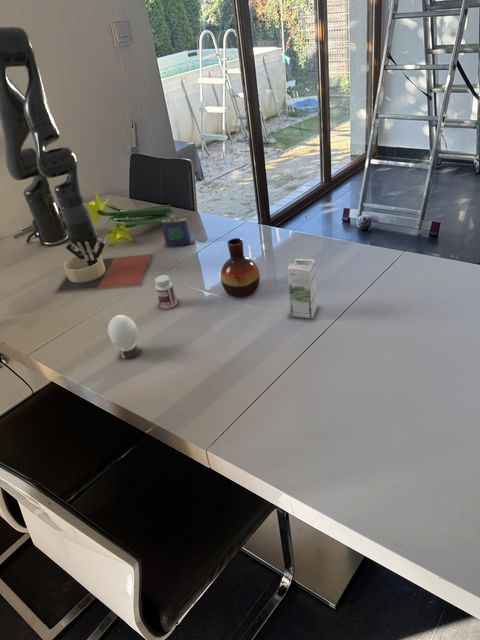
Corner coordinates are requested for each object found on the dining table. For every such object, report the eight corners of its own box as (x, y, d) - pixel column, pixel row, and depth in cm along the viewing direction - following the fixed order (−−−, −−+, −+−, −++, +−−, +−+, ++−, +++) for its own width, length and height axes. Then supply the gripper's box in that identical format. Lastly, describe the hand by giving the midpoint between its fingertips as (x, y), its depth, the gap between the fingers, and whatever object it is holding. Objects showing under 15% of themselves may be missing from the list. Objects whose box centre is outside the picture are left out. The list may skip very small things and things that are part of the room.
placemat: (57, 292, 148) (57, 291, 148) (78, 262, 164) (77, 261, 164) (139, 285, 147) (138, 283, 146) (151, 255, 162) (151, 254, 162)
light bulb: (119, 365, 115) (105, 328, 108) (114, 350, 120) (101, 314, 113) (146, 356, 117) (134, 319, 110) (140, 342, 122) (129, 306, 115)
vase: (267, 283, 139) (262, 234, 130) (251, 303, 131) (244, 252, 122) (234, 279, 143) (226, 231, 134) (216, 298, 135) (207, 248, 126)
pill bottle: (170, 298, 138) (163, 272, 133) (180, 303, 135) (173, 277, 130) (157, 305, 136) (149, 279, 131) (166, 310, 133) (159, 284, 128)
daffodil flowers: (187, 228, 180) (100, 238, 157) (168, 241, 191) (85, 252, 168) (173, 185, 179) (84, 188, 156) (155, 200, 190) (69, 206, 167)
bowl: (63, 284, 151) (58, 271, 148) (75, 266, 161) (70, 254, 158) (100, 281, 150) (95, 268, 148) (110, 263, 160) (106, 251, 157)
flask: (192, 241, 168) (186, 212, 162) (191, 245, 166) (184, 215, 159) (167, 243, 169) (159, 214, 162) (165, 247, 167) (158, 218, 160)
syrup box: (317, 307, 126) (315, 258, 117) (312, 320, 122) (309, 269, 113) (296, 305, 128) (293, 256, 119) (290, 317, 124) (286, 268, 115)
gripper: (101, 211, 146) (117, 262, 157) (60, 215, 147) (79, 265, 158) (94, 221, 140) (111, 273, 151) (51, 225, 141) (71, 276, 152)
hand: (95, 269), depth 154 cm, fingers closed
